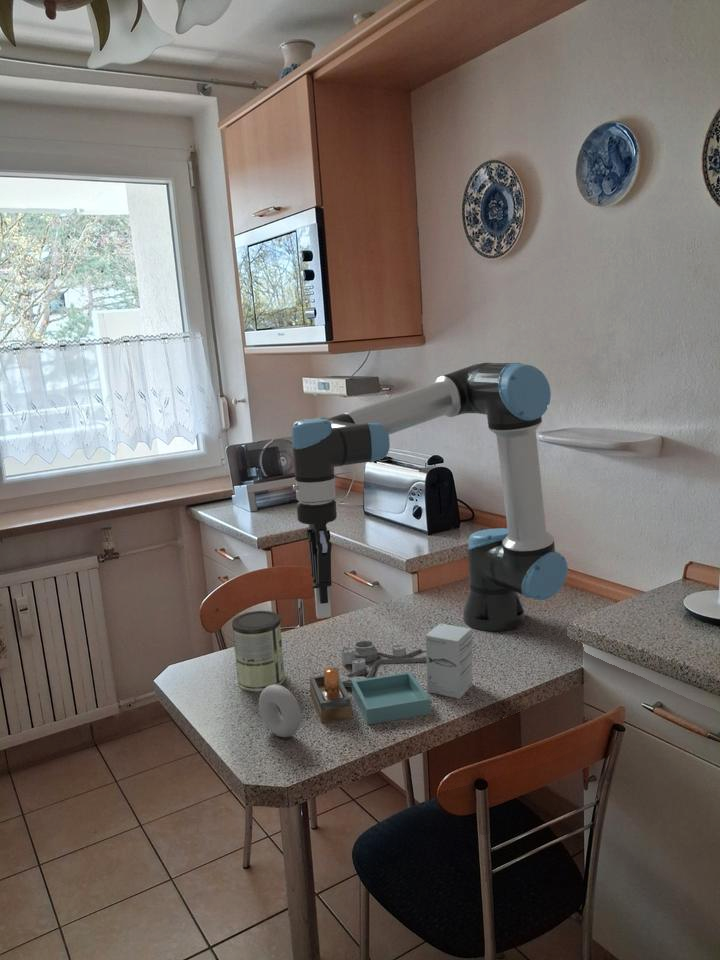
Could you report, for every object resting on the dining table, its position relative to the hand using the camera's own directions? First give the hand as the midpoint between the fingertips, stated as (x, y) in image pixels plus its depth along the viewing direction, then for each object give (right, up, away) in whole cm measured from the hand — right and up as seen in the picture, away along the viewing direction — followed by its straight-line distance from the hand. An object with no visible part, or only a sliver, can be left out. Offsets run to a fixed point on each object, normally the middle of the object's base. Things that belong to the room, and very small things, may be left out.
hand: (323, 616), depth 152 cm
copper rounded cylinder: (+2, -16, -2) cm, 16 cm away
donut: (-7, -21, -8) cm, 24 cm away
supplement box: (+26, -16, +6) cm, 31 cm away
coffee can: (-14, -17, +14) cm, 26 cm away
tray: (+13, -18, +1) cm, 22 cm away
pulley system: (+11, -15, +20) cm, 27 cm away
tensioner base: (+1, -18, +2) cm, 18 cm away
